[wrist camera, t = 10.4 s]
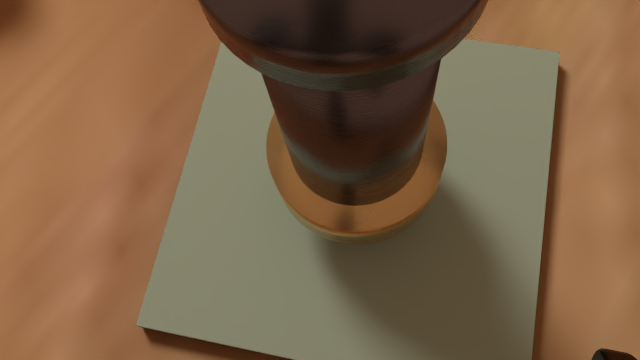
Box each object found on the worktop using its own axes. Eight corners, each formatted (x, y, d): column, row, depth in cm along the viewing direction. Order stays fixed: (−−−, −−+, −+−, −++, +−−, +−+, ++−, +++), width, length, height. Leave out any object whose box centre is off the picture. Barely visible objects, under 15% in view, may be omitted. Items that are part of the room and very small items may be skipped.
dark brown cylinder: (374, 290, 21) (375, 126, 8) (253, 199, 22) (99, -58, 10) (464, 170, 22) (586, -133, 9) (344, 90, 23) (312, -262, 11)
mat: (522, 409, 20) (526, 409, 19) (141, 327, 21) (135, 325, 21) (554, 60, 24) (559, 52, 23) (235, 15, 26) (232, 6, 25)
